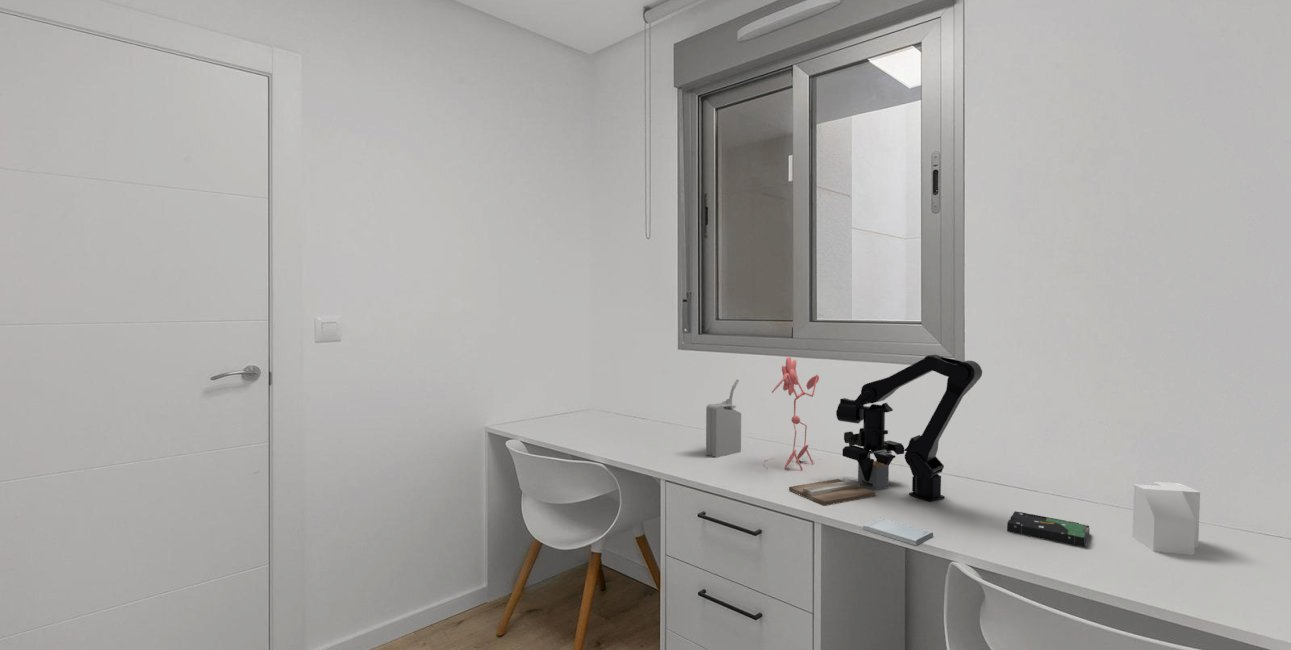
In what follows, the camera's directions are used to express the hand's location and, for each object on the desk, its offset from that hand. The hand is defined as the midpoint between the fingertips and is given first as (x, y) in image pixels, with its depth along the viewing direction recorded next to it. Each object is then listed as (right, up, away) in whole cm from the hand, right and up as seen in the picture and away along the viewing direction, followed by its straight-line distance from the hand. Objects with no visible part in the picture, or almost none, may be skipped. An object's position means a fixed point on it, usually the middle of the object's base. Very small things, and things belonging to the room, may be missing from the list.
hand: (873, 479), depth 175 cm
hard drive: (-8, -4, -36) cm, 37 cm away
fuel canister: (-37, 0, +37) cm, 53 cm away
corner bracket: (+48, -3, -42) cm, 64 cm away
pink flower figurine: (-19, -1, +23) cm, 30 cm away
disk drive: (+27, -4, -36) cm, 45 cm away
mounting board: (-14, -2, -7) cm, 16 cm away
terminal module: (0, -2, 0) cm, 2 cm away
